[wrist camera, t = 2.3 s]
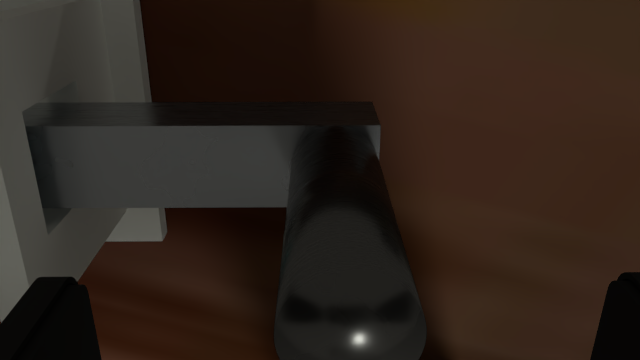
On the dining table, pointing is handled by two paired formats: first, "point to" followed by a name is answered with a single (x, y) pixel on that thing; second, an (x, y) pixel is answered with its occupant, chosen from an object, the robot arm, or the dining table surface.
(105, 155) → the shaft
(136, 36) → the bearing block
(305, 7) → the dining table surface
